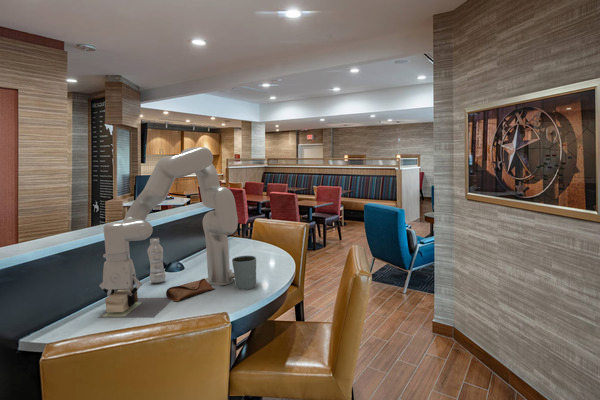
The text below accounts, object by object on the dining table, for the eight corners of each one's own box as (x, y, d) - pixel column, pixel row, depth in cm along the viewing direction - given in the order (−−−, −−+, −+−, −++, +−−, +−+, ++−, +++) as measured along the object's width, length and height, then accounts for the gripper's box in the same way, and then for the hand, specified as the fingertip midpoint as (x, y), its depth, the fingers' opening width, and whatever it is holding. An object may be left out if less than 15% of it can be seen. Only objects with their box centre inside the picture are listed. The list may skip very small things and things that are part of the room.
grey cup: (253, 290, 143) (251, 262, 142) (229, 289, 145) (228, 261, 144) (260, 282, 153) (259, 255, 152) (238, 281, 155) (237, 255, 154)
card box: (123, 312, 123) (121, 298, 122) (106, 312, 123) (105, 298, 123) (137, 300, 133) (136, 287, 132) (122, 300, 133) (121, 288, 132)
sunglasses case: (177, 301, 132) (172, 284, 134) (169, 306, 136) (164, 290, 138) (217, 288, 146) (211, 273, 147) (208, 294, 150) (203, 279, 152)
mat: (175, 298, 138) (175, 297, 138) (154, 318, 120) (153, 317, 120) (126, 298, 139) (126, 297, 139) (97, 319, 121) (97, 317, 121)
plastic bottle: (161, 285, 154) (157, 240, 152) (146, 284, 155) (143, 240, 153) (168, 280, 160) (165, 237, 158) (155, 279, 162) (151, 237, 159)
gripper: (88, 260, 123) (93, 309, 125) (136, 259, 122) (140, 309, 124) (101, 254, 130) (106, 301, 132) (146, 253, 129) (150, 300, 131)
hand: (122, 304), depth 128 cm, fingers closed on card box, 6 cm apart
